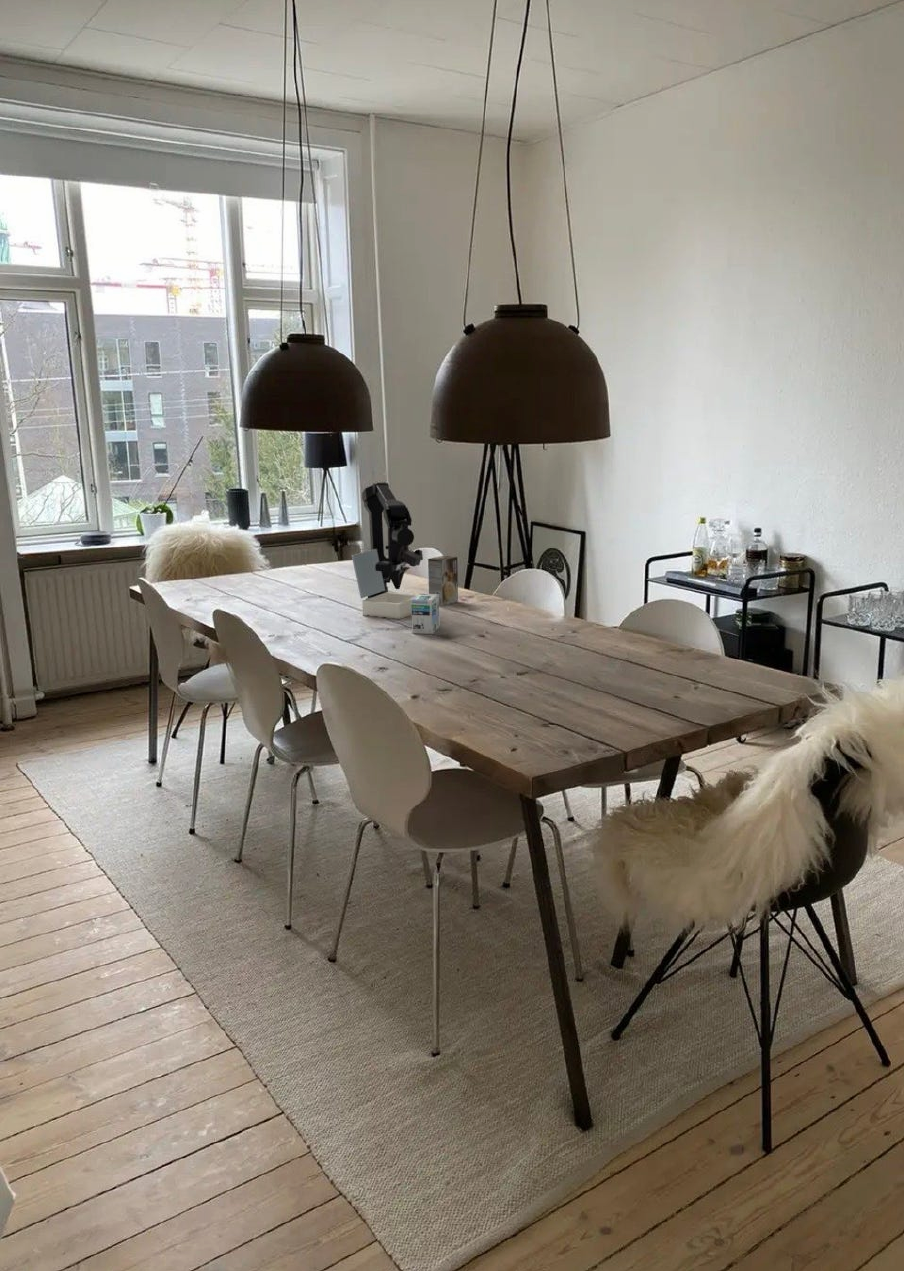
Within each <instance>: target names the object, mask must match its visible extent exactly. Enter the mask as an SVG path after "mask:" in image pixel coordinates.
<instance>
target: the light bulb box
mask: <svg viewBox="0 0 904 1271" xmlns="http://www.w3.org/2000/svg"><path fill="white" fill-rule="evenodd" d="M416 595H417V596H415V597H414V598H413V599H412V600H411V602H412V614H411V633H412V634H423V635H433V634H434V633H436V631H437V630H438V629H439V628H440V605H439V594H429V593H425V592H423V593H422V592H421V593H420V592H418V594H416Z"/></svg>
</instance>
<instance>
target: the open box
mask: <svg viewBox="0 0 904 1271" xmlns="http://www.w3.org/2000/svg"><path fill="white" fill-rule="evenodd" d="M417 595H418V594H410V593H409V594H408V593H400V592H399V593H397V592H389V591H388V592H386V593H383V594H380V595H377V596H375V597H372V598H369V599H366V598H365V599H363V600H362V601H361V602H362V616H363V615H369V616H368V617H372V616H378V617H377V618H382V617H386V618H385V619H392V618H395V619H394V620H401V619H403V617H404V618H407V617H408V615H409V616H412V602H411V600H412V599H413V598H414V597H415V596H417Z"/></svg>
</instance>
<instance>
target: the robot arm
mask: <svg viewBox="0 0 904 1271" xmlns="http://www.w3.org/2000/svg"><path fill="white" fill-rule="evenodd" d="M361 498H362V502H363V507H364V508H365V510H366V512H367V513H368V518H369V539H370V540H369V541H370V550H373V549H377V554H378V558H379V562H377V564H376V565H375V571H381V573H382V577H383V582H384V587H385V591H382V592H379V593H376V594H373V595H370V596H367V597H365V600H366V599H369V598H372V597H375V596H377V595H380V594H383V593H386V592H388V593H389V586H388V584H390V583H391V582H392V584H393V586H394V589H395V590H400V589H401V585H402V581H403V578H404V575H405V573H406V572H407V571H408V570H409V569H410V567H409V566H411V567H416V566H420V563H421V561H423V560H424V556H423V555H424V554H423V550H421V549H415V551H414V550H409V546H410V545H411V544H413V542H414V541H415V535H414V532H413V531H412V530H411V529H410V528H409V526H410V527H411V526H412V522H413V521H412V517H411V513H410V510H409V509H408V506H407V505H406V504H405V503H404V502H402V501H400V500H397V499H396V497H395V495H394V494H393V492H392V490H391V489H390V485H389V483H388V482H386V481H385V482H382V481H381V482H375V483H374V482H373V483H372V485H370V486H368V487H367V486H366V488H364V489H363V491H362V492H361ZM383 519H384V521H385V524H386V527H387V545H385V543H384V527H383V526H384V525H383V524H384V523H383ZM384 545H385V548H384ZM385 550H387V551H388V552H387V557H386V555H385ZM406 564H408V565H409V566H407V565H406Z"/></svg>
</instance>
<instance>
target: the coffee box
mask: <svg viewBox="0 0 904 1271" xmlns="http://www.w3.org/2000/svg"><path fill="white" fill-rule="evenodd" d="M427 561H428V562H427V563H428V564H427V566H428V569H427V570H428V575H427V576H428V594H439V606H442V607H443V606H447V605H450V604H453V603H457V602H458V601H459V587H458V586H459V583H458V582H459V580H458V556H450V555H440V556H436V557H431V558H428V559H427Z"/></svg>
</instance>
